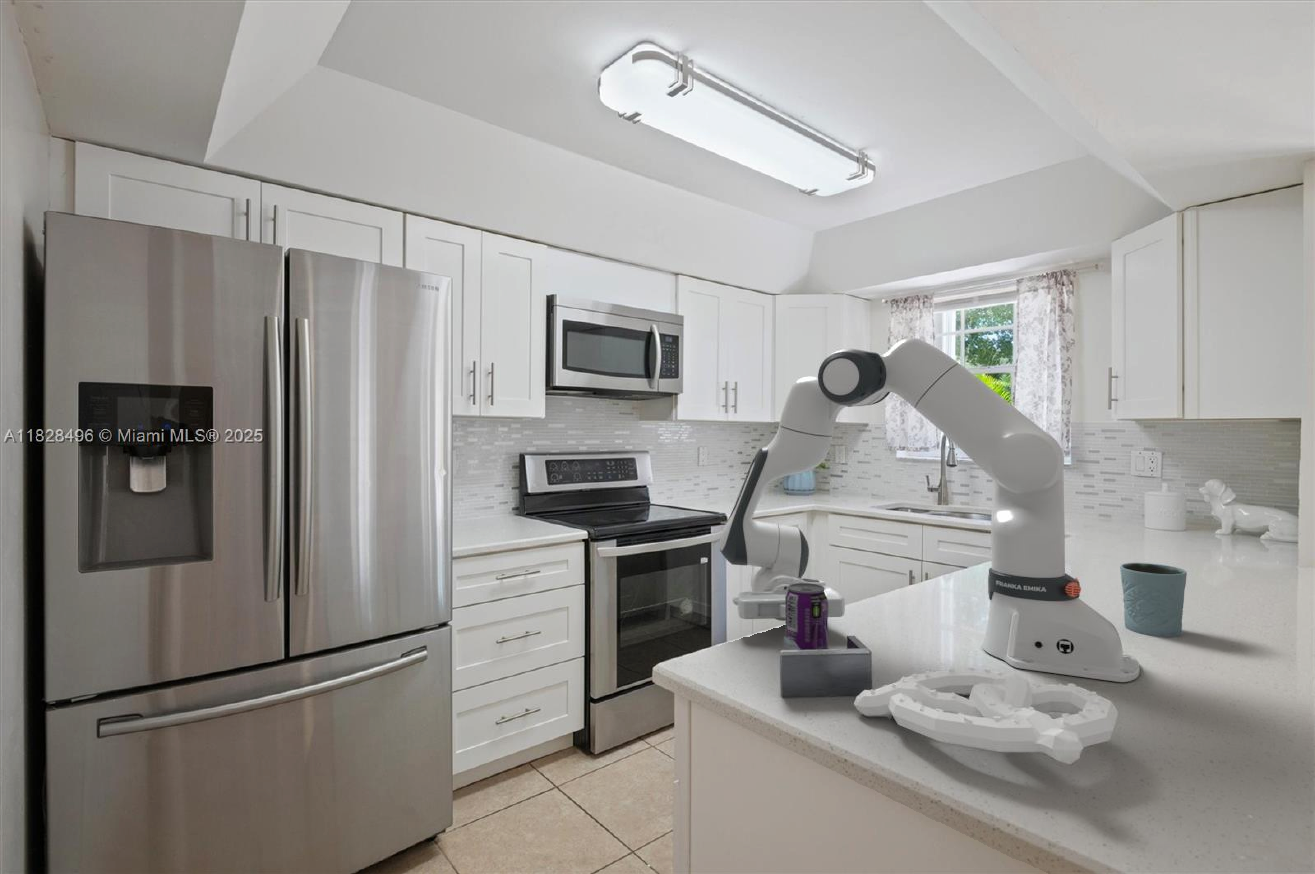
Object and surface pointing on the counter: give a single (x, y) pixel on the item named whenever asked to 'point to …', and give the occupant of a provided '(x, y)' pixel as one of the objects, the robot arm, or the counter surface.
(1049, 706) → the pretzel
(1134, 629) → the teal embossed flower pot
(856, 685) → the grey u-shaped holder
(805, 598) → the beverage can
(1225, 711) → the counter surface
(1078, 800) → the counter surface
